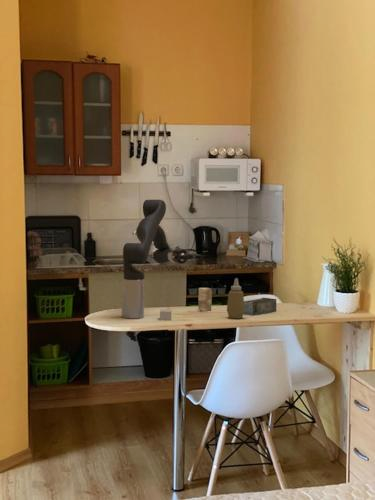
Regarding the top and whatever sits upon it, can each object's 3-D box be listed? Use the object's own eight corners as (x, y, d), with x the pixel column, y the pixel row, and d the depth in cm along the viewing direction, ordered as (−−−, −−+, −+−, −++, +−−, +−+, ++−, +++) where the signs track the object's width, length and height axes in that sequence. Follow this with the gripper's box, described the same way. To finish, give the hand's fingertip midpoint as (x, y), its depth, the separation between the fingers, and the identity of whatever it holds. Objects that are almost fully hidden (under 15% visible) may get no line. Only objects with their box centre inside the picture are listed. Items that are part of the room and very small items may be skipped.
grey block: (159, 320, 283) (160, 311, 282) (160, 318, 288) (160, 309, 287) (171, 320, 283) (171, 311, 283) (171, 318, 288) (171, 309, 288)
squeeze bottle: (248, 318, 292) (249, 278, 290) (235, 320, 286) (236, 279, 285) (235, 315, 298) (236, 276, 296) (222, 317, 293) (223, 278, 291)
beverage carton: (239, 314, 304) (239, 300, 303) (264, 309, 318) (264, 296, 317) (252, 316, 298) (253, 302, 298) (277, 311, 312) (277, 298, 312)
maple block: (203, 312, 306) (203, 289, 305) (198, 310, 309) (198, 288, 309) (211, 311, 308) (211, 288, 307) (206, 310, 312) (206, 287, 311)
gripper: (165, 248, 325) (182, 250, 311) (189, 248, 333) (207, 250, 319) (165, 263, 326) (182, 265, 312) (189, 263, 333) (206, 265, 319)
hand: (194, 257), depth 315 cm, fingers open, 8 cm apart
